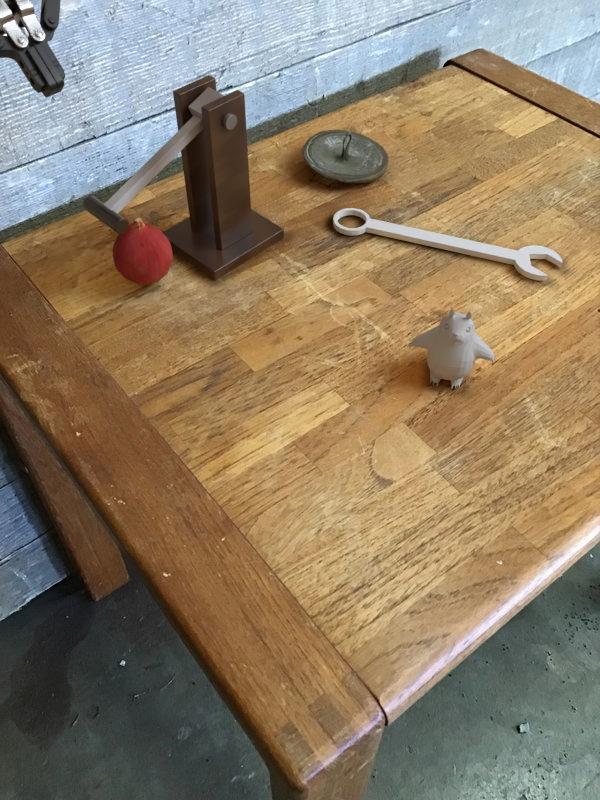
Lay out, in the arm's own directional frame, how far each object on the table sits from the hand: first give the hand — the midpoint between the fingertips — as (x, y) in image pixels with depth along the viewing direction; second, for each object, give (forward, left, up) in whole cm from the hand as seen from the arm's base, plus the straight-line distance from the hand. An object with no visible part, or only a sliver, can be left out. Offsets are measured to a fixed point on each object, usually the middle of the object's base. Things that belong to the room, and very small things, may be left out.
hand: (55, 90), depth 65 cm
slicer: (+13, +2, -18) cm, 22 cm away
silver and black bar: (+9, -2, -7) cm, 11 cm away
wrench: (+37, +1, -18) cm, 41 cm away
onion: (+6, -5, -18) cm, 20 cm away
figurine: (+35, -17, -18) cm, 43 cm away
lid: (+27, +16, -18) cm, 37 cm away
